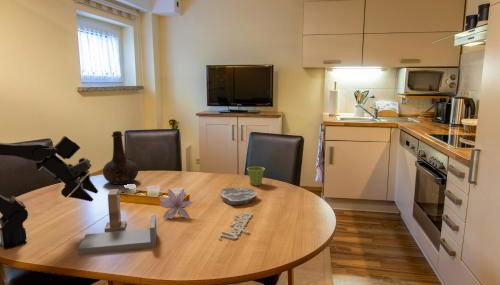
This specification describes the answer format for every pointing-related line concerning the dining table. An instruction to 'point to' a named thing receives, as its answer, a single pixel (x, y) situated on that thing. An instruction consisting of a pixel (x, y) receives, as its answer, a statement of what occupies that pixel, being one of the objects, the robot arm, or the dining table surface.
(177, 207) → the water lily
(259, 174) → the plant pot
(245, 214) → the decorative sign
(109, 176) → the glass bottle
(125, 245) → the grey l-shaped bracket
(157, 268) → the dining table surface
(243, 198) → the brain slice
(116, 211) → the brown upright panelled block
